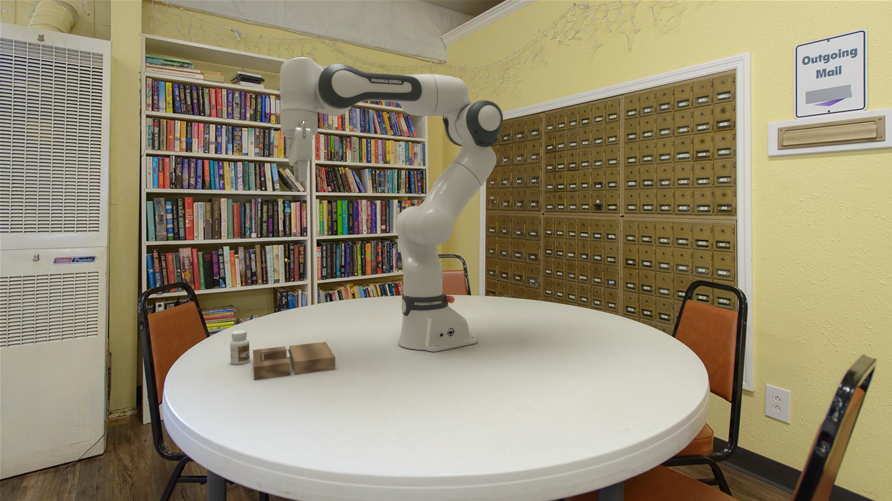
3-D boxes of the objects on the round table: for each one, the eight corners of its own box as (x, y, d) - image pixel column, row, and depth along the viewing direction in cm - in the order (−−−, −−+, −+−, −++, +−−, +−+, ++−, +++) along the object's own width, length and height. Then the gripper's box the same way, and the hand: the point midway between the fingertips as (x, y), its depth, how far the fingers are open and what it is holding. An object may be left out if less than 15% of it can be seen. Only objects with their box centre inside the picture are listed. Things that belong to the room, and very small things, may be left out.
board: (326, 352, 126) (325, 341, 126) (335, 368, 113) (334, 356, 113) (253, 361, 119) (252, 349, 119) (254, 379, 106) (253, 366, 106)
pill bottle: (242, 365, 116) (241, 334, 115) (227, 364, 117) (225, 333, 116) (253, 359, 120) (252, 330, 120) (238, 358, 121) (236, 329, 120)
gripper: (318, 119, 109) (319, 179, 110) (307, 132, 127) (308, 183, 129) (289, 116, 106) (291, 178, 107) (282, 130, 125) (284, 183, 126)
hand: (300, 181), depth 118 cm, fingers open, 8 cm apart
